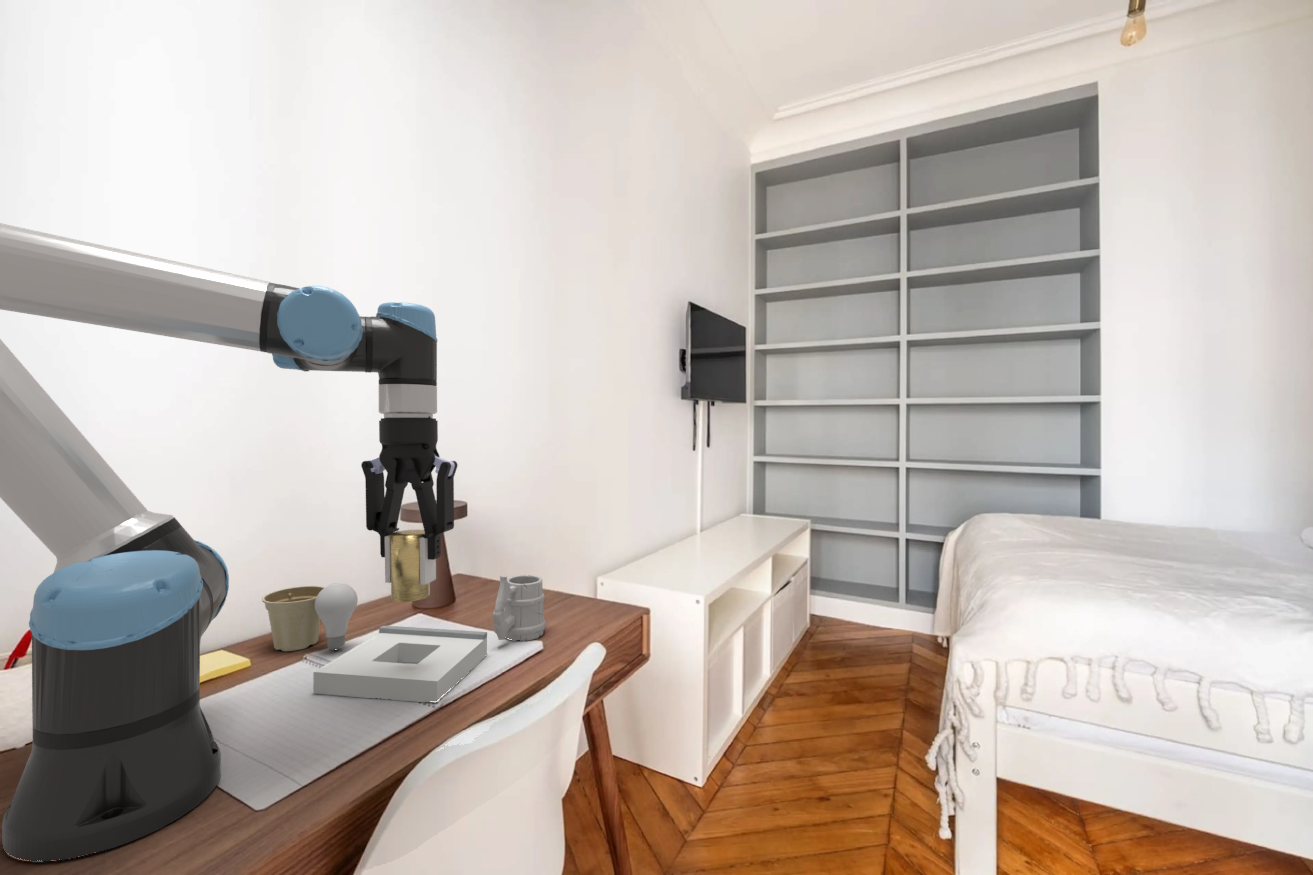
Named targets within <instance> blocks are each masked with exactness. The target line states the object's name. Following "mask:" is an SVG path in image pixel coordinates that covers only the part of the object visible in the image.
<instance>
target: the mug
mask: <svg viewBox="0 0 1313 875" xmlns="http://www.w3.org/2000/svg"><path fill="white" fill-rule="evenodd" d="M499 581H500V582H499V589H498V591H497V594H496V599H495V602H494V603H495V607H494V610H493V612H492V619H493V620H492V621H493V629H494V630H493V631H494V634H496V636H497V639H498V640H499V641H503V640H505V639H506V638H509V639H512V640H520V641H521V640H523V641H522V642H524V641H527V642H528V641H529V642H530V641H532V640H536V639H538V638H540V637H542V636H543V634H544V629H545V628H546V620H545V618H544V600H545V599H546V597H545V593H544V592H543V578H542V577H541V576H538V575H532V574H523V575H522V574H521V575H514V576H511V577H509V578H508V577H507V576H506V575H502V574H501V575H500V576H499ZM505 637H506V638H505Z"/></svg>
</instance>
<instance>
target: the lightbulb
mask: <svg viewBox="0 0 1313 875" xmlns="http://www.w3.org/2000/svg"><path fill="white" fill-rule="evenodd" d="M324 587H325V588H324V589H322V590H321V591H320V592H319V594H318V595H317V597H316V600H315V610H316V612H317V614H318V616H319V617H320V619H321V622H322V624H323V627H324V635H325V636H326V645H327V649H329V650H332V651H333V650H335V649H339V650H340V649H341V648H343V647H344V646H345V644H346V633H347V632H348V627H349V626H348V625H349V622H350V619H351V617H352V615H353V614H354V612H355V610H356V607H357V605H358V594H357V592H356V590H355V589H354V588H353V587H352V586H350V584H346V583H343V582H335V583H332V584H329V585H327V586H324Z"/></svg>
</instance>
